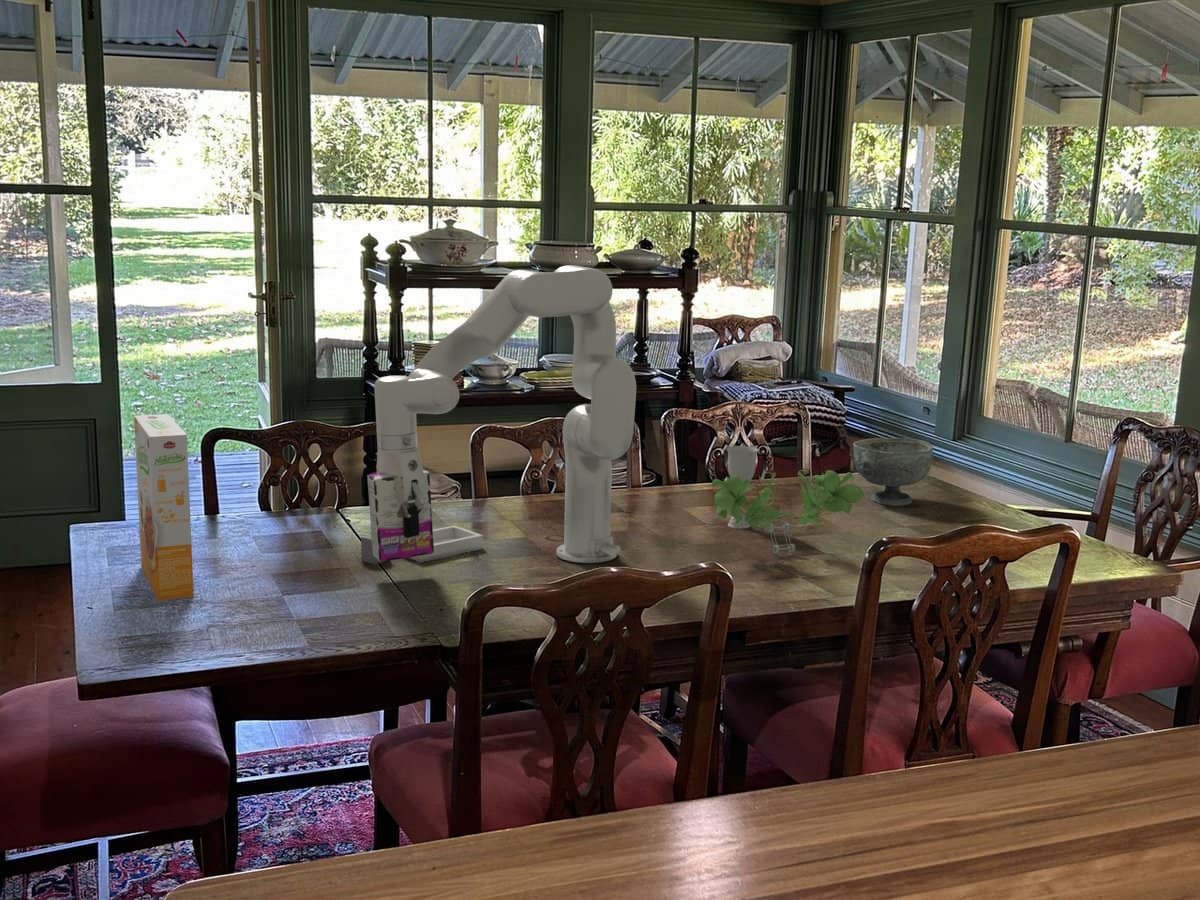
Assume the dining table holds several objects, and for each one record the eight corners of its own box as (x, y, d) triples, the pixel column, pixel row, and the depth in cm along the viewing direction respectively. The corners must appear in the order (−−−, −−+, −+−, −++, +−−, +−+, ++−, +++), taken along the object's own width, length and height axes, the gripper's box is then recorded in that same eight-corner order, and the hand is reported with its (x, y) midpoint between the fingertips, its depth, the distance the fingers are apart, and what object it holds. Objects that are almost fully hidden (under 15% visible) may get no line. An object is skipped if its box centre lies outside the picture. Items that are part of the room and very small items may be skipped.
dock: (483, 549, 258) (483, 535, 257) (420, 562, 247) (420, 548, 247) (454, 538, 265) (454, 525, 264) (392, 551, 254) (392, 537, 254)
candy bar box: (425, 547, 242) (422, 466, 238) (434, 554, 238) (431, 471, 234) (370, 556, 237) (366, 473, 233) (378, 563, 233) (374, 479, 229)
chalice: (719, 527, 281) (722, 450, 277) (727, 520, 287) (731, 444, 283) (750, 531, 278) (754, 453, 274) (758, 524, 284) (762, 448, 280)
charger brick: (389, 560, 249) (389, 530, 247) (375, 564, 245) (374, 534, 244) (376, 556, 251) (375, 527, 250) (361, 560, 248) (361, 531, 246)
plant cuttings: (690, 581, 263) (728, 542, 244) (674, 507, 270) (710, 464, 250) (835, 569, 274) (881, 531, 255) (816, 499, 281) (860, 457, 262)
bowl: (847, 490, 321) (851, 433, 318) (923, 494, 318) (928, 437, 315) (852, 508, 301) (856, 448, 298) (933, 513, 299) (938, 452, 296)
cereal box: (141, 566, 240) (133, 415, 234) (174, 562, 243) (168, 413, 237) (157, 600, 220) (149, 436, 214) (193, 596, 223) (186, 434, 217)
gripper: (440, 445, 229) (444, 537, 233) (388, 432, 241) (392, 520, 245) (406, 451, 224) (411, 546, 228) (355, 437, 236) (360, 528, 240)
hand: (401, 531), depth 236 cm, fingers closed on candy bar box, 5 cm apart
